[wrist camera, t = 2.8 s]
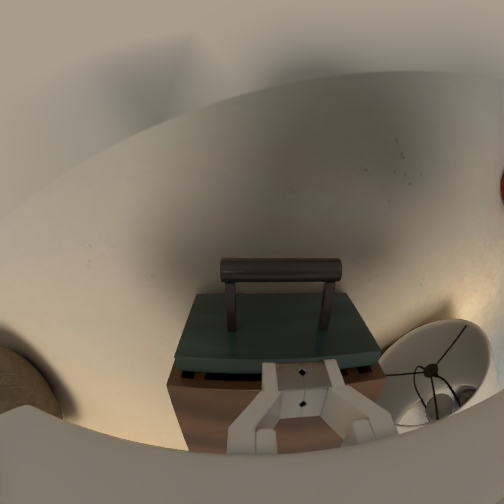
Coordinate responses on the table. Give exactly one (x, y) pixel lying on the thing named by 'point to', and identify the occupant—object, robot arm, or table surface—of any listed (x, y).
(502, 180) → the beverage can
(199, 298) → the drawer
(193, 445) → the cabinet
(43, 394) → the bowl
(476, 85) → the table surface
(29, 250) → the table surface
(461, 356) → the light fixture
